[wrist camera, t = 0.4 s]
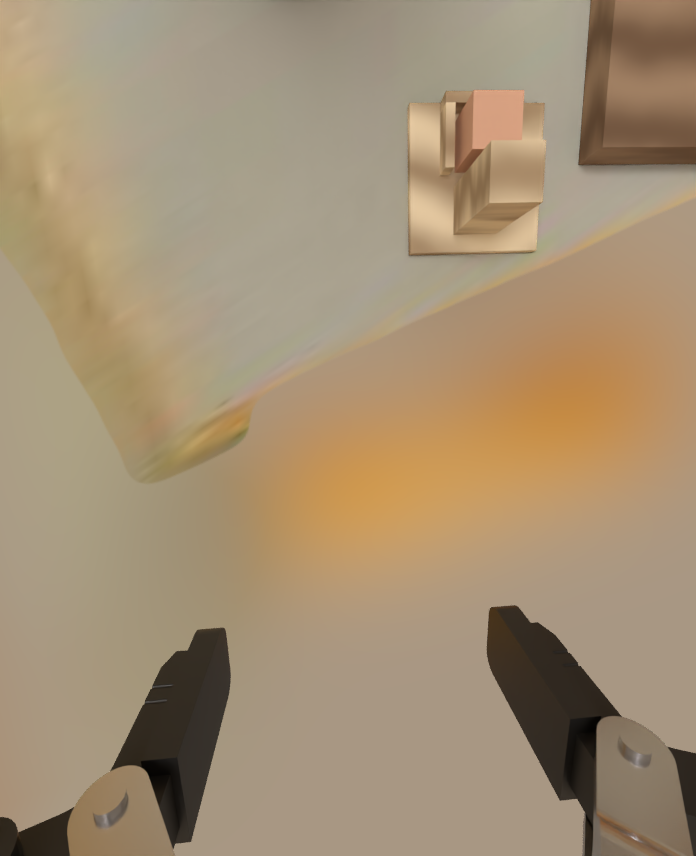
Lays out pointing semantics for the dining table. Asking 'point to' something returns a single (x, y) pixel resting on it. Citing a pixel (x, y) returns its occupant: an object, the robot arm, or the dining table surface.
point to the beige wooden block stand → (472, 184)
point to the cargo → (486, 123)
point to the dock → (640, 83)
